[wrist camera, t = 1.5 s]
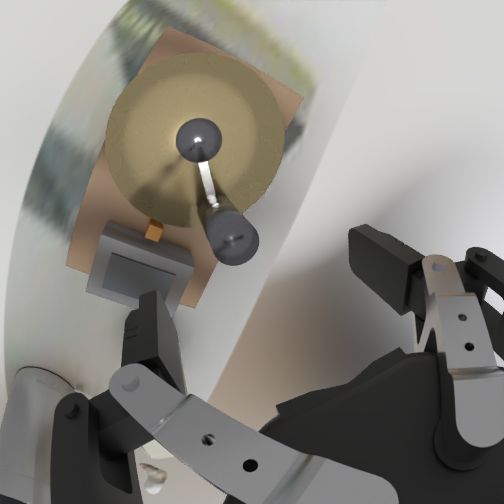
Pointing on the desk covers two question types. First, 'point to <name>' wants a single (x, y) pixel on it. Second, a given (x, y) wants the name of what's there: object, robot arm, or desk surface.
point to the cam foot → (197, 147)
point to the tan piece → (149, 219)
